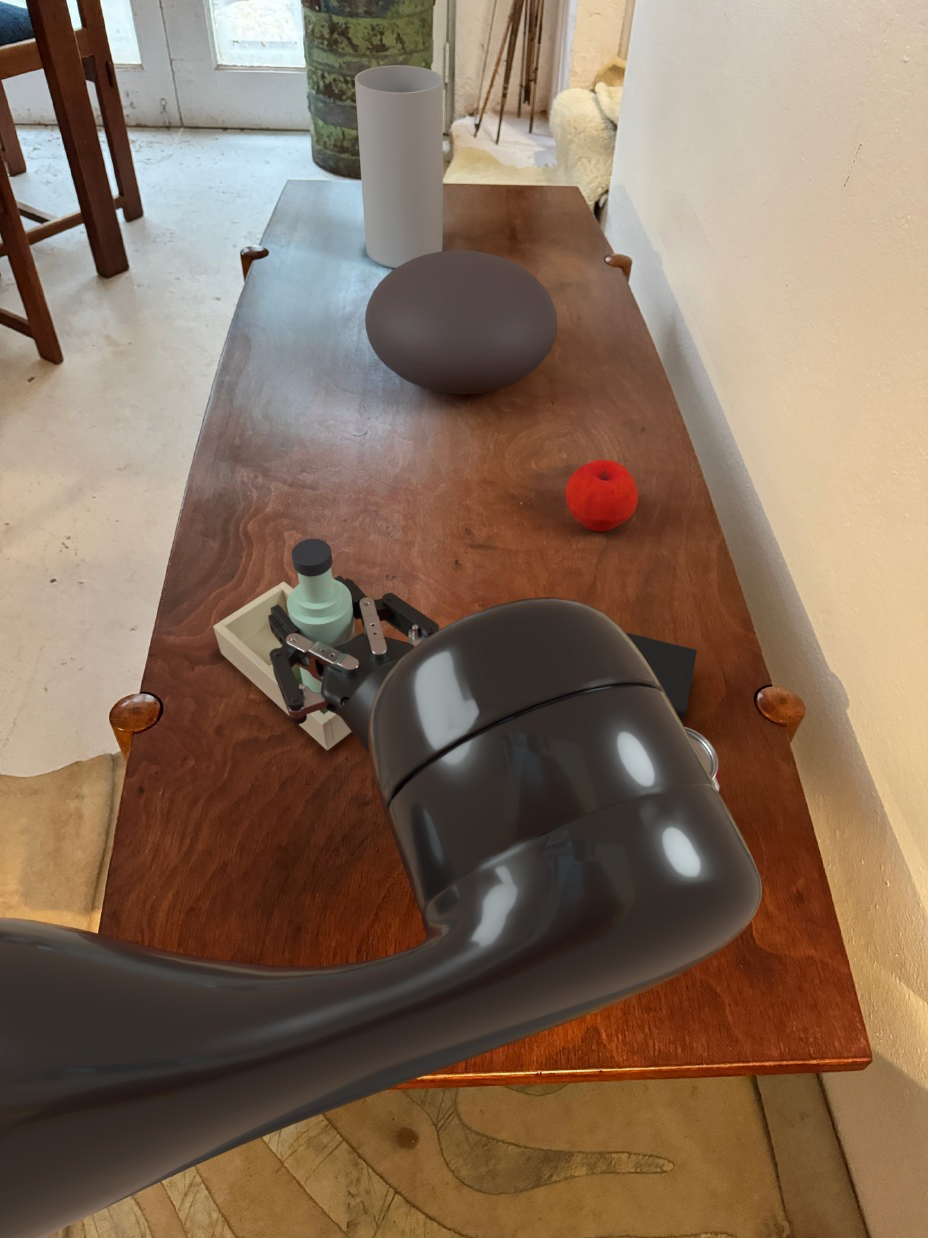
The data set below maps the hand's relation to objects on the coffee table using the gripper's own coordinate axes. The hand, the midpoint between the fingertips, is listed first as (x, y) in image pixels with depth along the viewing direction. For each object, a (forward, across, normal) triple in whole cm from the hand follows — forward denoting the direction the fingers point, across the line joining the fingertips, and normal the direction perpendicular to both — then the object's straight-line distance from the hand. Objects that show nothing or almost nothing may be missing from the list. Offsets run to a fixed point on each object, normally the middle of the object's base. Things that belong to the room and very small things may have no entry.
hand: (306, 598), depth 71 cm
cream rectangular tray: (+1, +1, +11) cm, 11 cm away
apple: (+2, -37, +11) cm, 38 cm away
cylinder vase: (+69, -55, +11) cm, 89 cm away
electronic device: (-18, -22, +12) cm, 31 cm away
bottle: (-3, 0, +8) cm, 8 cm away
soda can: (-30, -14, +12) cm, 35 cm away
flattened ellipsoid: (+35, -42, +11) cm, 56 cm away
